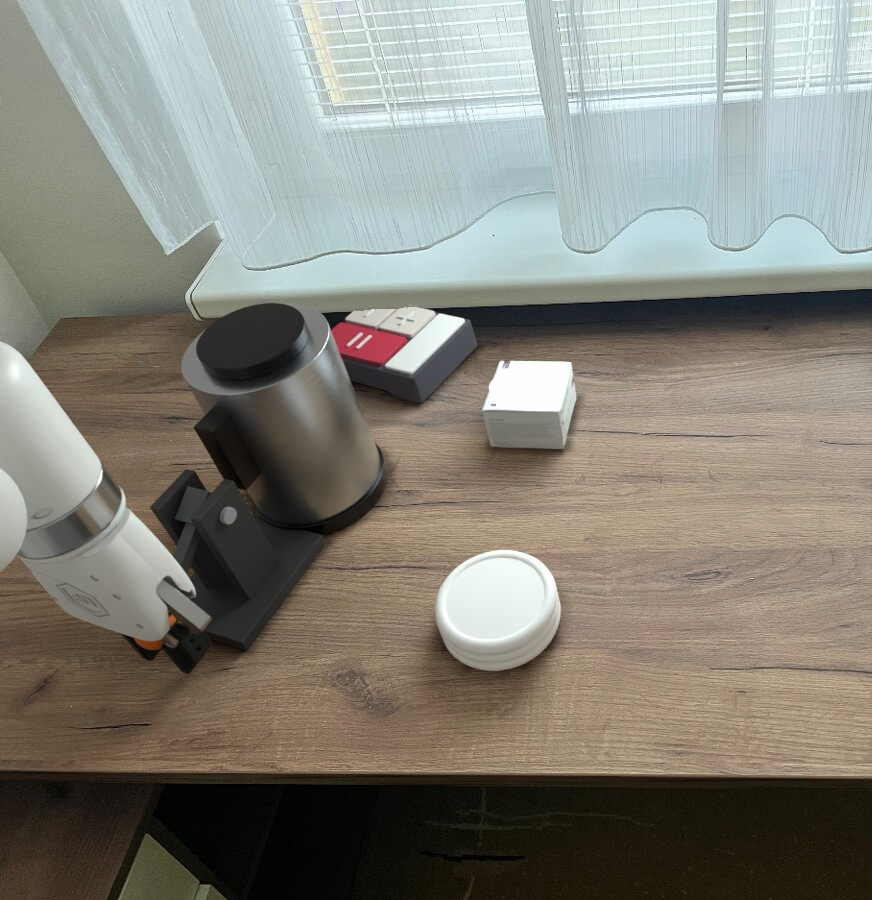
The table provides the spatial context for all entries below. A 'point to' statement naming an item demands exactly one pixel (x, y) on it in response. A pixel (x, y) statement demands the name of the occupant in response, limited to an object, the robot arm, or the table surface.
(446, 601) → the white jar lid
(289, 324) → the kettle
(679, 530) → the table surface
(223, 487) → the switch base
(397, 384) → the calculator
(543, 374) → the small box
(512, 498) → the table surface
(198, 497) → the switch lever
